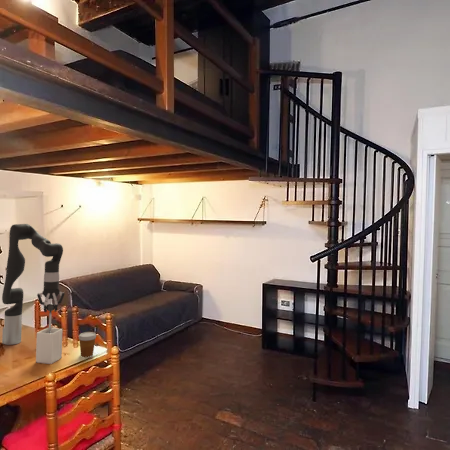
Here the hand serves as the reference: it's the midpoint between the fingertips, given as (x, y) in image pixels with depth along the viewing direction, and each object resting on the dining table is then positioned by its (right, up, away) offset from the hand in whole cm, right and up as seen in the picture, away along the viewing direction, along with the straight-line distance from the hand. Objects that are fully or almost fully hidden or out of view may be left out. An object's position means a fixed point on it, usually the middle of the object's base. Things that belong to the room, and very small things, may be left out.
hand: (50, 311), depth 193 cm
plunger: (0, -13, 0) cm, 13 cm away
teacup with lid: (-11, -26, +22) cm, 36 cm away
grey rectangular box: (-1, -27, +2) cm, 27 cm away
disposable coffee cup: (+16, -27, +9) cm, 33 cm away
